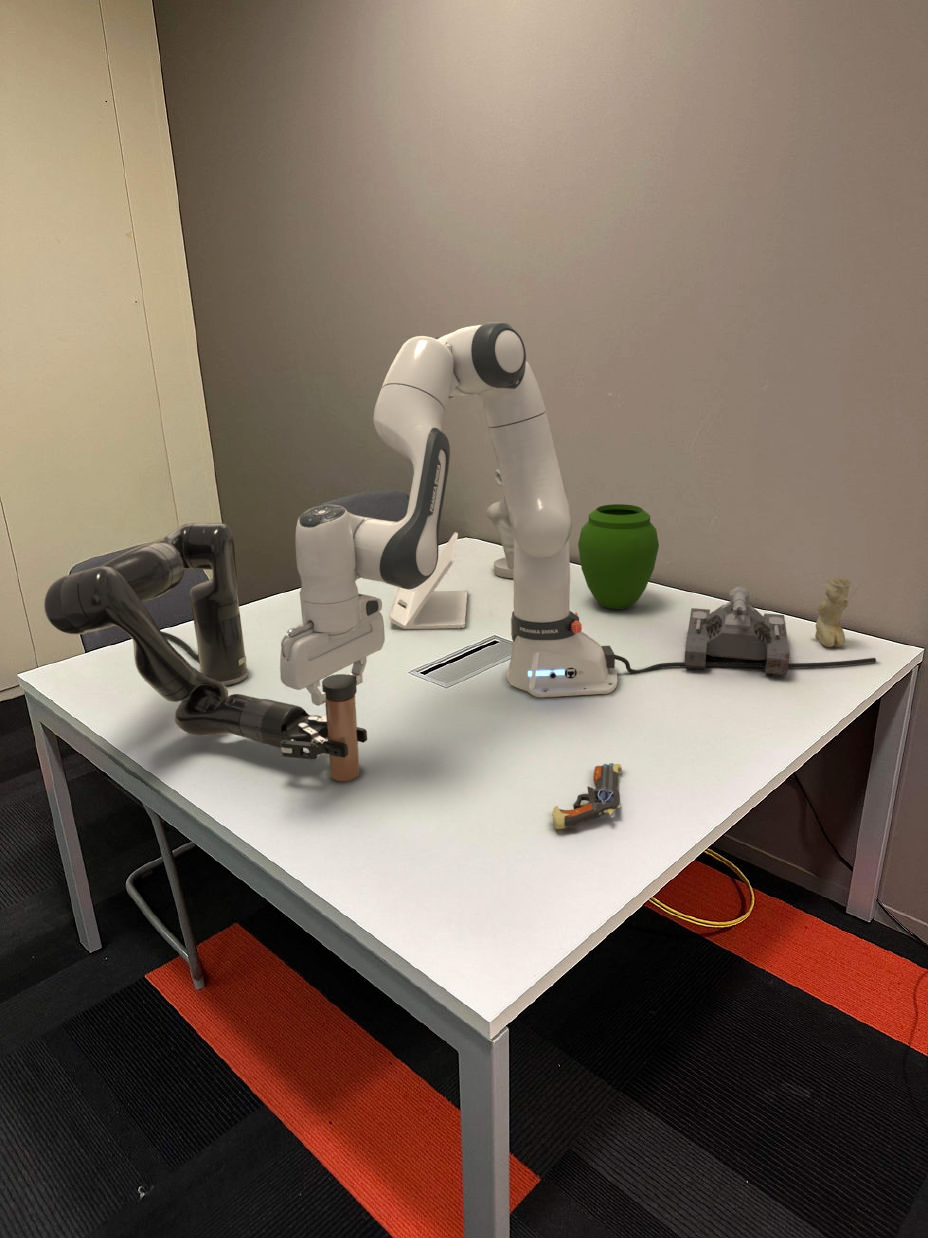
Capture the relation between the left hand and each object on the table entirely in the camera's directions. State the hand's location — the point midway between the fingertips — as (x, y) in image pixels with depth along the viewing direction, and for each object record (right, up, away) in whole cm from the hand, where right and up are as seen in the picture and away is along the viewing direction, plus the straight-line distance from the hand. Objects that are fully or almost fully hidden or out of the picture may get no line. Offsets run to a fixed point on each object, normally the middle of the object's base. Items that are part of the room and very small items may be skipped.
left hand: (356, 743), depth 138 cm
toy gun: (+37, -8, -6) cm, 38 cm away
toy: (+76, +13, +46) cm, 89 cm away
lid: (-2, +10, -3) cm, 11 cm away
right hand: (-3, +8, -2) cm, 9 cm away
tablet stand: (+9, +22, +76) cm, 80 cm away
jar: (-2, -6, +3) cm, 7 cm away
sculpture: (+97, +15, +49) cm, 110 cm away
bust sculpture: (+35, +32, +101) cm, 111 cm away
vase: (+56, +24, +76) cm, 97 cm away
